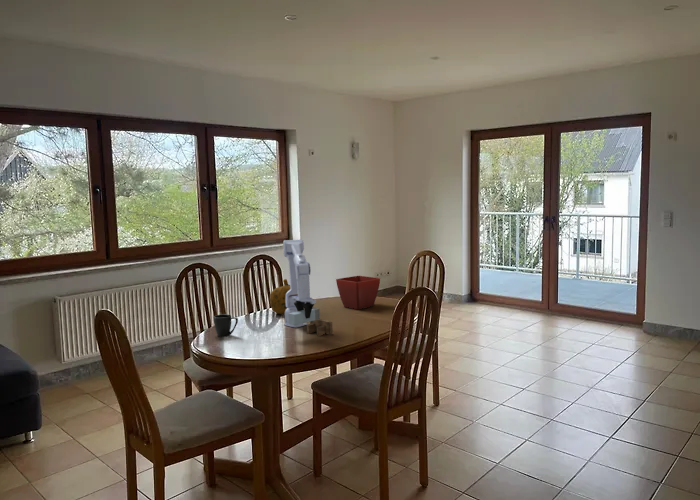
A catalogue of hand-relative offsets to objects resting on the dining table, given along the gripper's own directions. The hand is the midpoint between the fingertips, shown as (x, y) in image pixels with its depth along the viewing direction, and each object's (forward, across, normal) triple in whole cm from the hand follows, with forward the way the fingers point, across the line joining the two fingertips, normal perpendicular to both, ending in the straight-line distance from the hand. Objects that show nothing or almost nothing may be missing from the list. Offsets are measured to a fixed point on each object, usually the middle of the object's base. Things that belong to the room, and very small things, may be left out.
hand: (304, 317), depth 255 cm
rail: (+2, 0, 0) cm, 2 cm away
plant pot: (+10, -25, +65) cm, 70 cm away
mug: (+10, -32, -22) cm, 40 cm away
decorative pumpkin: (+10, -46, +29) cm, 55 cm away
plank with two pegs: (+9, 0, +9) cm, 13 cm away
